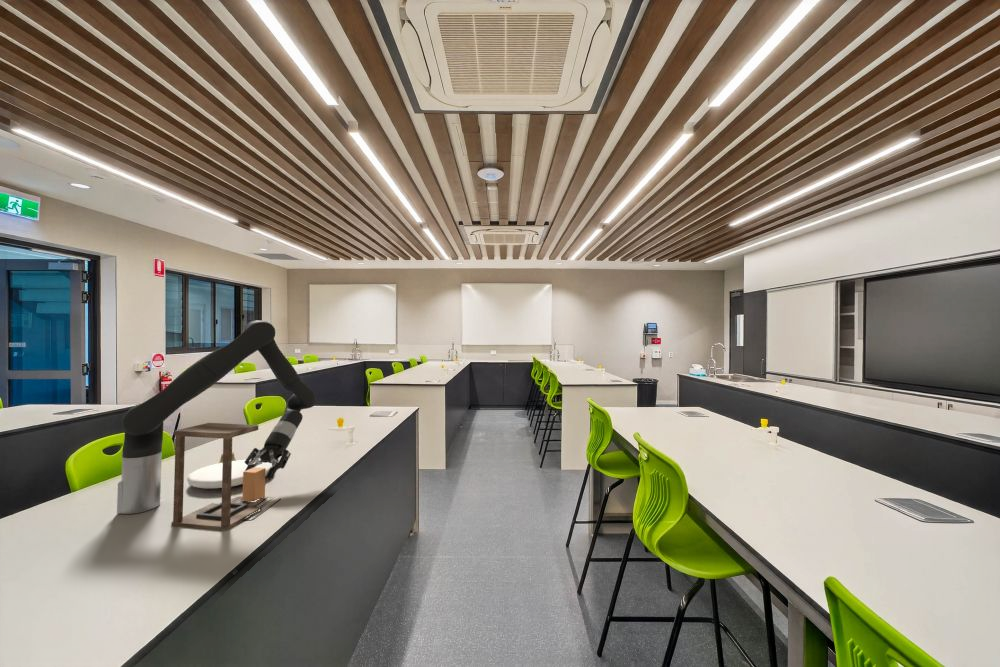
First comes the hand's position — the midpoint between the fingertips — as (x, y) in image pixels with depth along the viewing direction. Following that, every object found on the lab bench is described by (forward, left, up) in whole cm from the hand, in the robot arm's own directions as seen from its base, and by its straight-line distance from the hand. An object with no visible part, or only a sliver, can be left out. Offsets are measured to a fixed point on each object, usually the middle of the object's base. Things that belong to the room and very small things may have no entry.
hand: (256, 478), depth 129 cm
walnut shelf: (-7, -13, -7) cm, 16 cm away
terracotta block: (0, -1, -7) cm, 7 cm away
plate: (-12, +23, -7) cm, 27 cm away
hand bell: (-19, +43, -7) cm, 48 cm away
